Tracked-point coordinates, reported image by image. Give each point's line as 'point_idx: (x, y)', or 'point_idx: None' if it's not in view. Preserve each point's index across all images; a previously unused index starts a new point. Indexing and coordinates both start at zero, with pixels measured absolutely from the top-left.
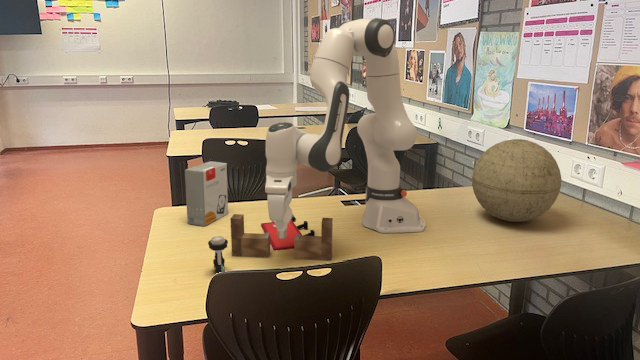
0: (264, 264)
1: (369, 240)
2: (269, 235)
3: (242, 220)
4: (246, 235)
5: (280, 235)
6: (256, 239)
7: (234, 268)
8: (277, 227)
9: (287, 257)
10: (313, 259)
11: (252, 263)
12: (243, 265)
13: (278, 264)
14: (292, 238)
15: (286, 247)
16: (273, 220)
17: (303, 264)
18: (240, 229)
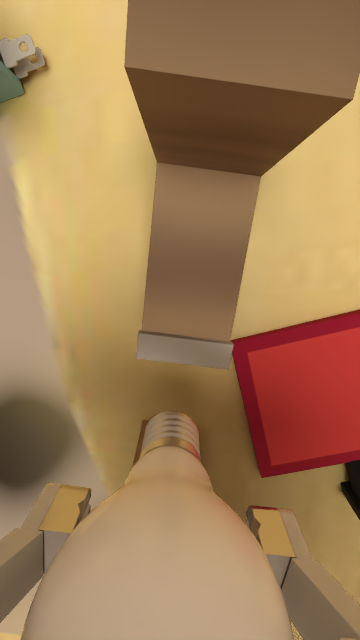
0: (85, 308)
1: (293, 633)
2: (204, 362)
3: (246, 119)
4: (206, 201)
5: (145, 440)
6: (146, 282)
7: (29, 169)
8: (41, 498)
9: (158, 396)
10: None
11: (91, 254)
12: (67, 212)
13: (90, 364)
14: (339, 419)
15: (244, 395)
16: (102, 504)
17: (96, 449)
18: (148, 133)
